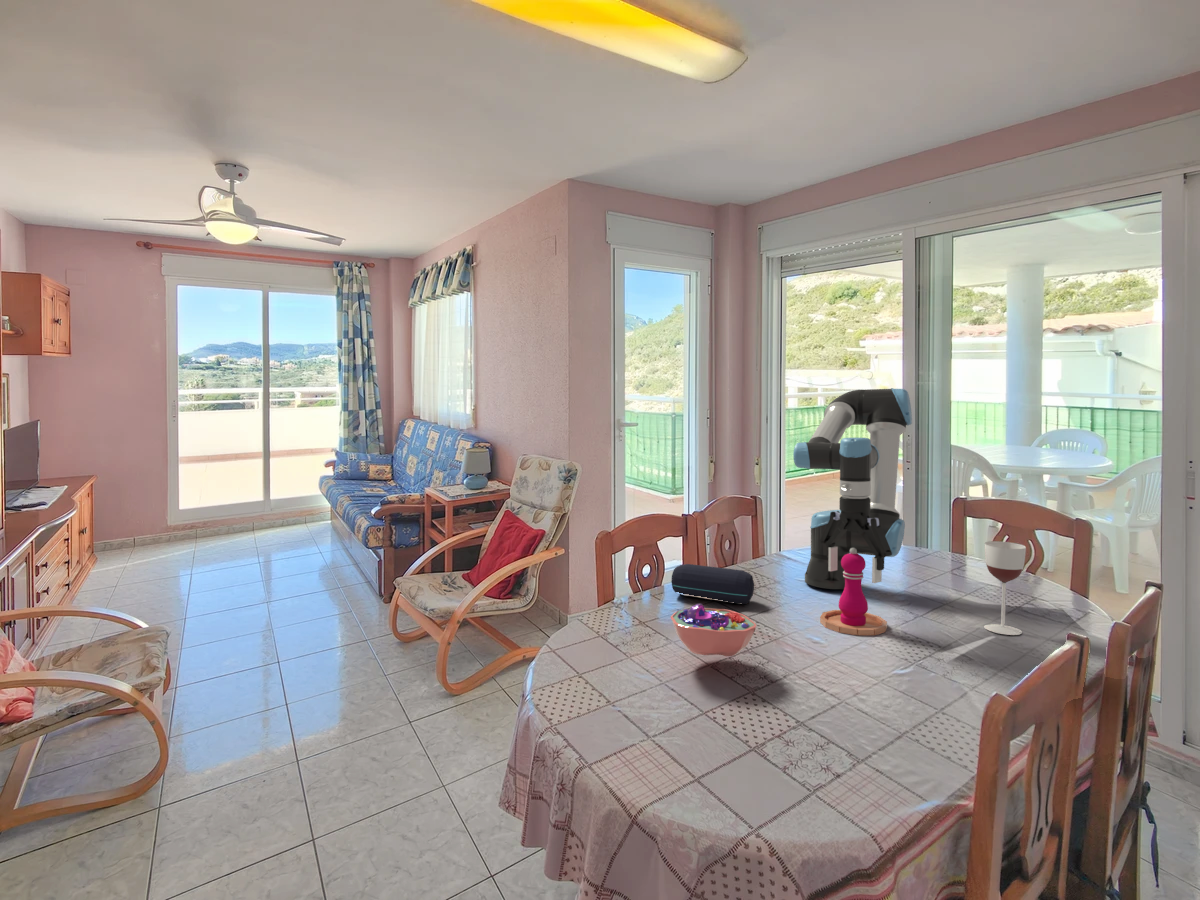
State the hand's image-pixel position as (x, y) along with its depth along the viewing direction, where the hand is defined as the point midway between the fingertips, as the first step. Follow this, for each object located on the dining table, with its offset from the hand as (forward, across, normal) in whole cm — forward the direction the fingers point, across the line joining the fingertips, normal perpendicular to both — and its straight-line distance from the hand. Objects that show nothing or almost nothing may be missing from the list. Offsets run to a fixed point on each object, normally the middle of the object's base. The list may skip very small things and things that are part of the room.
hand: (854, 576), depth 163 cm
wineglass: (+13, +22, +30) cm, 39 cm away
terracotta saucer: (+13, 0, 0) cm, 13 cm away
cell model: (+13, -3, -45) cm, 47 cm away
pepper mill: (+12, 0, 0) cm, 13 cm away
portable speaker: (+13, -37, -17) cm, 43 cm away
